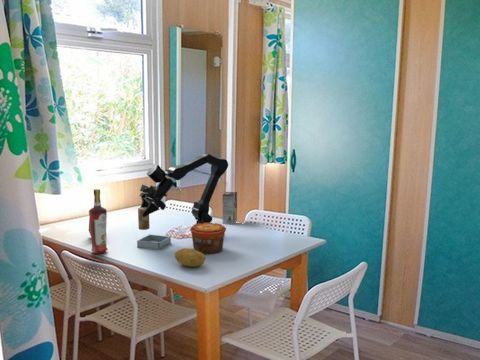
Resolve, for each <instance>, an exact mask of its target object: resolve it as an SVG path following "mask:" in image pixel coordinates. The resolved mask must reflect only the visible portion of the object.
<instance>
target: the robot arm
mask: <svg viewBox="0 0 480 360" xmlns="http://www.w3.org/2000/svg"><path fill="white" fill-rule="evenodd" d="M205 164H208V165H210V175H209V177H208V180H207V183H206V185H205V188H204V189H203V192H202V194H201V196H200V199H199V200H198V201H194V203H193V204H192V207H191V215H192V216H193V217H194V219H195V220H196V223H195V224H199V223H200V224H203V223H213V222H212V221H213V217H212V216H211V215H210V214H209V211H210V202H211V200H212V196H214V195H213V194H214V192H215V190H216V188H217V186H218V183H219V181H220V178H221V177H222V175H224V174H225V173H226V172H227V170H228V168H229V162H228V161H227V160H226V159H224V158H221V157H215V156H213V155H212V154H210V153H203V154H202V155H200V156H198V157H196V158H194V159H192V160H189V161H187V162H185V163H183V164H179V165H173V166H171V167H169V168H168V169H166V170H164V169H162V167H161V166H160V165H158V164H155V165H154V166H152V167H151V168H149V169H148V170H147V172H146V175H147V176H148V177H149V179H151V180H152V181H153V182H154V184H155V183H156V184H157V183H158V184H157V185H156V186H153V185H150V184H149V185H148V186H147V185H146V184H142V185H141V187H140V190H139V191H140V192H141V193H140V194H139V197H140V199H141V204H140V205H141V206H140V207H139V208H141V207H147V208H146V210H145V212H144V213H143V215H142V216H143V217H145V216H147V215H149V216H150V215H151V214H152V213H153V214H154V213H155V212H157V211H160V210H162V211H164V210H165V209H166V207H167V205H166V204H167V203H165V202H164V201H162V200H163V198H164V197H165V198H166V197H167V196H168V194H167V193H168V192H169V191H170V190H171V189H172V188H175V189H177V188H178V185H177V181H180V180H181V179H183V178H184V177H186V175H187V174H188V173H189V172H192V171H193V170H196V169H197V168H200V167H202V166H204V165H205Z"/></svg>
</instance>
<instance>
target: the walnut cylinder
mask: <svg viewBox="0 0 480 360" xmlns="http://www.w3.org/2000/svg"><path fill="white" fill-rule="evenodd" d="M140 207H141V206H140ZM140 207H138V208H137V219H138V221H137V223H138V229H139V231H145V230H149V229H150V214H149V215H147V216H145V217H143V216H142V215H143V213H144V212H145V210H146V208H147V207H141V208H140Z"/></svg>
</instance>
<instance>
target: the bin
mask: <svg viewBox="0 0 480 360" xmlns="http://www.w3.org/2000/svg"><path fill="white" fill-rule="evenodd" d="M171 237H172V236H168V235H159V234H158V235H157V234H148V235H146V236H144V237H142V238H140V239H137V240H136V244H137V245H136V246H137V247H136V248H142V249H150V250H156V251H157V250H158V251H160V250H162V249H163V248H165V247H166V246H168V245H169V244H171V243H172V238H171Z"/></svg>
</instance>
